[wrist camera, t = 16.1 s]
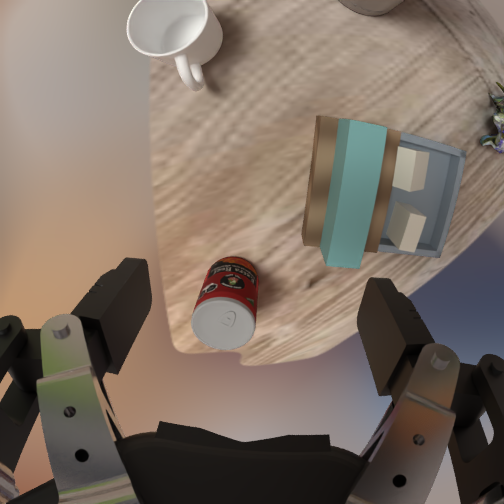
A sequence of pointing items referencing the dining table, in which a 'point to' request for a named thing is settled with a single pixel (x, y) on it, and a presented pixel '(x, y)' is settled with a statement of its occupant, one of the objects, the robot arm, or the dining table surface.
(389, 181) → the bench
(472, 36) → the dining table surface
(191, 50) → the cup
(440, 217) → the tray
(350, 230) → the teal rectangular block
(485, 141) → the passion flower
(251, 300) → the canned food
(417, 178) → the tile
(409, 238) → the tile
